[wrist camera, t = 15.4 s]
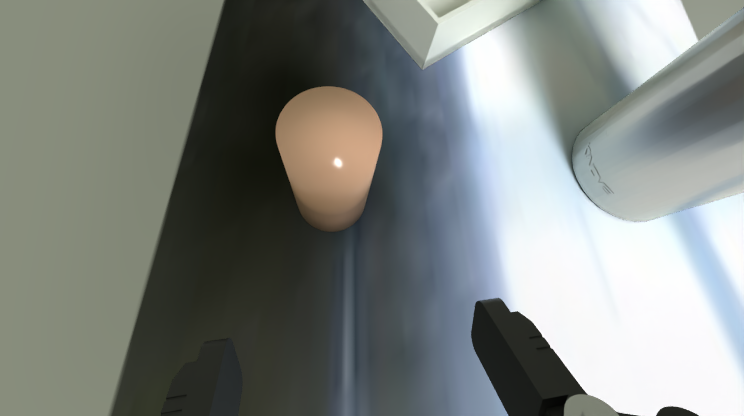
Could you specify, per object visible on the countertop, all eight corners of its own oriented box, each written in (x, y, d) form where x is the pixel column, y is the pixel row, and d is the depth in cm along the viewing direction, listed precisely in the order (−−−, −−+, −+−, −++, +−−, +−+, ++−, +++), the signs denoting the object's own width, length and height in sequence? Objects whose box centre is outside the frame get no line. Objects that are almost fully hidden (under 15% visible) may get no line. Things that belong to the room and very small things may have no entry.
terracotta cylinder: (355, 161, 27) (367, 78, 18) (373, 222, 26) (394, 168, 17) (291, 175, 27) (266, 95, 17) (305, 239, 25) (287, 191, 16)
